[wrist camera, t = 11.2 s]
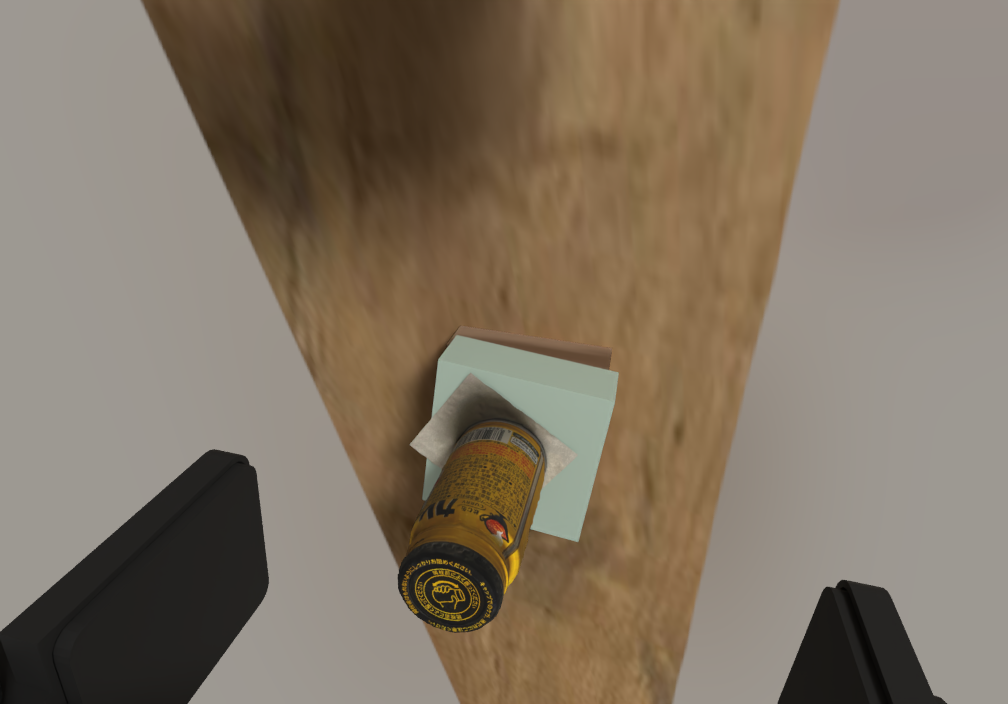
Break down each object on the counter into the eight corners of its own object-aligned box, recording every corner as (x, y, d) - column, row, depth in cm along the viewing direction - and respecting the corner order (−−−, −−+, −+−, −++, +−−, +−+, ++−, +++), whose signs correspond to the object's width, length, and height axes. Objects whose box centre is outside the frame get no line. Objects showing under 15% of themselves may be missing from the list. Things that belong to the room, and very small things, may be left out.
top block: (456, 334, 42) (438, 359, 39) (618, 372, 41) (614, 401, 37) (439, 467, 47) (422, 499, 44) (584, 505, 46) (578, 542, 42)
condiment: (510, 518, 43) (461, 669, 32) (410, 443, 42) (326, 571, 31) (578, 453, 39) (550, 596, 29) (471, 370, 39) (402, 485, 28)
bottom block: (462, 322, 46) (446, 344, 43) (612, 344, 45) (608, 368, 41) (457, 448, 51) (442, 476, 48) (593, 472, 49) (588, 504, 46)
